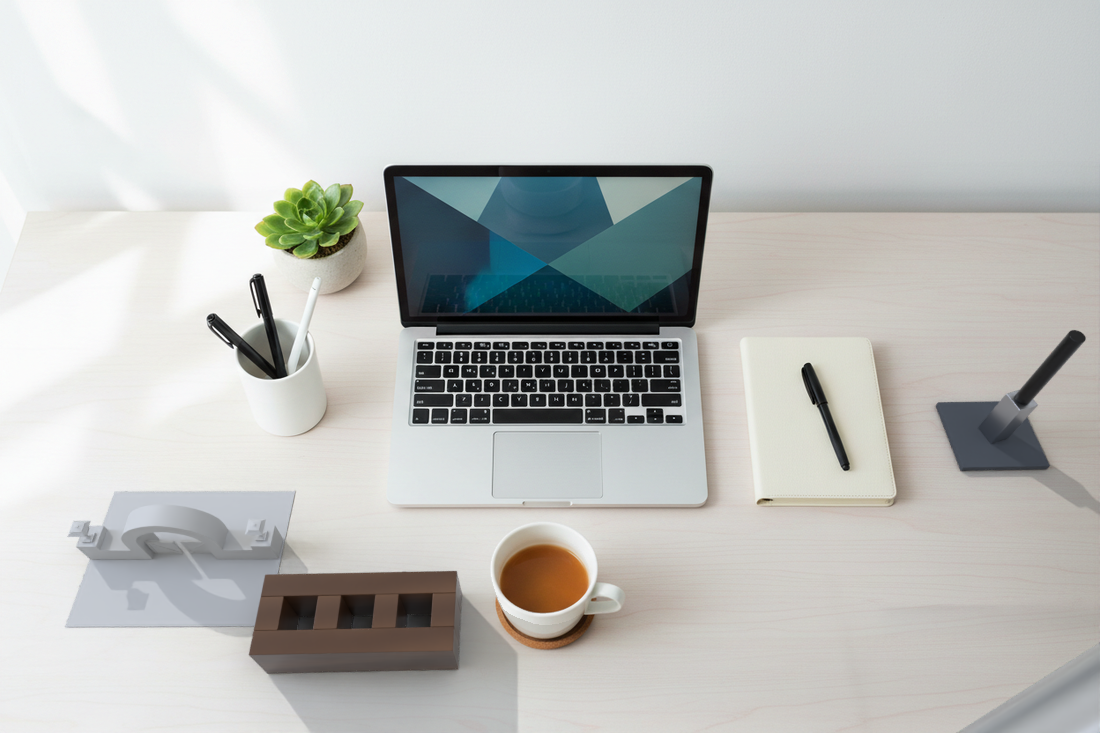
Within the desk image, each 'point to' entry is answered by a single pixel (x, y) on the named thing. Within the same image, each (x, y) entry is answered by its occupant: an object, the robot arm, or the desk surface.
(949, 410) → the felt mat
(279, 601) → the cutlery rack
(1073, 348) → the rod topped stamp
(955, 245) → the desk surface
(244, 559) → the grey arched handle
